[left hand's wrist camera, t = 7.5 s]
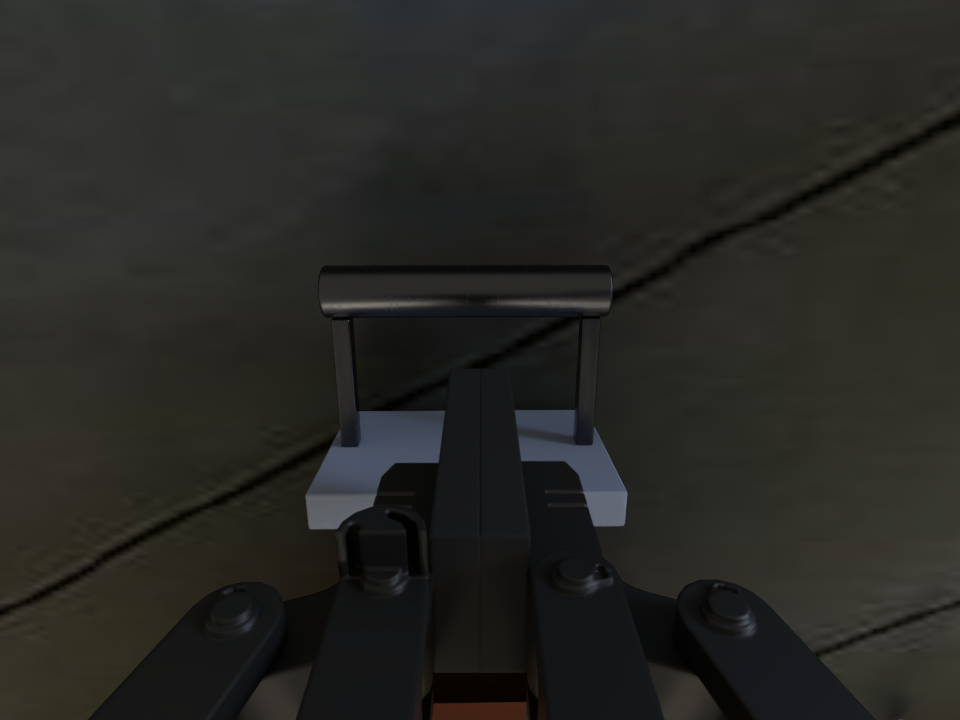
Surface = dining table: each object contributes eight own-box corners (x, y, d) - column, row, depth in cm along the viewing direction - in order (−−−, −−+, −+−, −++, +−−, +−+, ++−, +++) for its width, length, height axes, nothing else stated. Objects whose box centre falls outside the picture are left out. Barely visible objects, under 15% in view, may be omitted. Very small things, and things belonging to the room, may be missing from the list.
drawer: (336, 253, 21) (282, 284, 15) (595, 253, 21) (646, 283, 15) (370, 702, 27) (341, 852, 21) (569, 700, 27) (597, 847, 21)
